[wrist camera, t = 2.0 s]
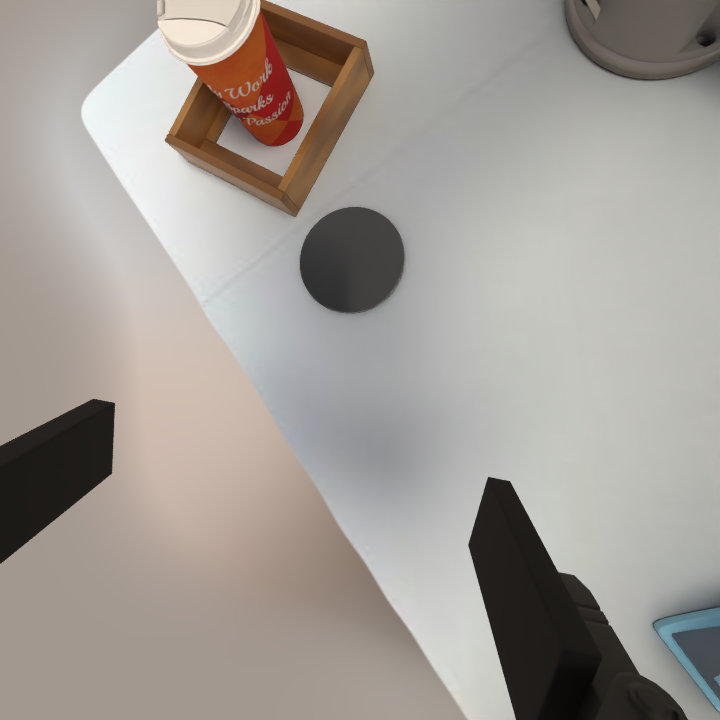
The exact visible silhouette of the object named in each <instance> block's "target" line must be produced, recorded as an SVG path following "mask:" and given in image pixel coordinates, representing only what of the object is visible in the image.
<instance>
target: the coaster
mask: <svg viewBox="0 0 720 720" xmlns="http://www.w3.org/2000/svg"><path fill="white" fill-rule="evenodd" d="M404 262H405V254H404V247H403V243H402V240H401V237H400V235H399V233H398V231H397V230H396V228H395V227H394V225H393V224H392V223H391V222H390V221H389V220H388V219H387V218H386V217H384V216H383V215H381V214H380V213H378V212H376V211H373V210H371V209H367V208H361V207H349V208H343V209H340V210H337V211H334V212H332V213H330V214H328V215H327V216H325V217H324V218H322V219H321V220H320V221H319V222H318V223H317V224H316V225H315V226H314V227H313V228H312V229H311V231H310V232H309V234H308V235H307V237H306V239H305V241H304V244H303V247H302V250H301V255H300V271H301V276H302V279H303V282H304V284H305V286H306V288H307V290H308V291H309V293H310V294H311V295H312V297H313V298H314V299H315V300H316V301H318V302H319V303H320V304H322V305H323V306H325V307H326V308H328V309H331V310H333V311H336V312H341V313H360V312H364V311H367V310H370V309H372V308H374V307H376V306H378V305H379V304H381V303H382V302H383V301H385V300H386V299H387V298H388V297H389V296H390V295H391V294H392V292H393V291H394V290H395V288H396V287H397V285H398V283H399V281H400V279H401V276H402V273H403V269H404Z"/></svg>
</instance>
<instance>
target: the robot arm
mask: <svg viewBox="0 0 720 720" xmlns="http://www.w3.org/2000/svg"><path fill="white" fill-rule="evenodd" d="M566 16H567V21H568V25H569V28H570V31H571V33H572V35H573V37H574V39H575V41H576V43H577V44H578V45H579V47H580V48H581V49H582V50H583V52H584V53H585V54H586V55H587V56H588V57H590V58H591V59H592V60H593V61H594V62H596V63H597V64H599V65H600V66H602V67H604V68H606V69H607V70H610V71H612V72H614V73H617V74H620V75H624V76H628V77H632V78H640V79H664V78H671V77H677V76H681V75H685V74H688V73H691V72H694V71H697V70H699V69H702V68H704V67H706V66H708V65H710V64H712V63H714V62H715V61H717V60H719V59H720V0H566ZM114 413H115V403H112V402H107V401H102V400H97V399H92V400H90V401H88V402H86V403H85V404H82V405H80V406H78V407H76V408H74V409H72V410H70V411H68V412H67V413H64V414H63V415H61V416H59V417H57V418H55V419H53V420H51V421H49V422H47V423H45V424H43V425H41V426H39V427H37V428H35V429H33V430H31V431H29V432H27V433H25V434H23V435H21V436H19V437H17V438H15V439H13V440H11V441H9V442H7V443H5V444H3V445H1V446H0V563H2V562H3V561H5V560H6V559H7V558H8V557H9V556H11V555H12V554H13V553H14V552H16V551H17V550H18V549H19V548H21V547H22V546H23V545H24V544H25V543H27V542H28V541H29V540H30V539H32V538H33V537H34V536H35V535H36V534H38V533H39V532H40V531H42V530H43V529H44V528H45V527H46V526H48V525H49V524H50V523H51V522H53V521H54V520H55V519H56V518H58V517H59V516H60V515H61V514H63V513H64V512H65V511H66V510H67V509H69V508H70V507H71V506H72V505H74V504H75V503H76V502H77V501H79V500H80V499H81V498H82V497H83V496H85V495H86V494H87V493H88V492H90V491H91V490H92V489H93V488H95V487H96V486H97V485H98V484H99V483H101V482H102V481H103V480H104V479H106V478H107V477H108V476H109V475H111V474H112V459H113V437H114ZM468 545H469V549H470V553H471V556H472V560H473V564H474V567H475V571H476V575H477V578H478V582H479V586H480V589H481V593H482V597H483V600H484V604H485V608H486V611H487V615H488V619H489V622H490V626H491V630H492V633H493V637H494V641H495V644H496V648H497V652H498V655H499V659H500V663H501V666H502V670H503V674H504V677H505V681H506V685H507V688H508V692H509V696H510V699H511V703H512V707H513V710H514V714H515V718H516V720H688V719H687V717H686V716H685V714H684V712H683V710H682V708H681V707H680V706H679V705H678V704H677V702H676V701H675V700H674V699H673V698H672V697H671V696H670V695H669V694H668V693H667V692H666V691H664V690H663V689H662V688H661V687H660V686H658V685H657V684H656V683H654V682H652V681H650V680H649V679H647V678H645V677H643V676H641V675H640V674H639V672H638V671H637V669H636V667H635V666H634V664H633V662H632V661H631V659H630V657H629V656H628V654H627V652H626V651H625V649H624V647H623V645H622V644H621V642H620V640H619V639H618V637H617V635H616V634H615V632H614V630H613V629H612V627H611V626H610V625H609V624H608V623H609V622H608V620H607V619H606V617H605V615H604V613H603V612H602V611H600V607H599V605H598V603H597V602H596V600H595V598H594V597H593V595H592V593H591V592H590V590H589V589H588V588H587V587H586V586H584V585H583V584H582V583H581V582H580V581H579V580H578V579H577V578H576V577H575V576H574V575H570V574H565V573H560V572H558V571H557V569H556V567H555V565H554V564H553V562H552V560H551V558H550V556H549V554H548V552H547V550H546V548H545V546H544V545H543V543H542V541H541V539H540V537H539V535H538V533H537V531H536V529H535V528H534V526H533V524H532V522H531V520H530V518H529V516H528V514H527V512H526V511H525V509H524V507H523V505H522V503H521V501H520V499H519V497H518V495H517V493H516V492H515V490H514V488H513V486H512V484H511V482H510V481H506V480H501V479H496V478H491V477H488V479H487V482H486V486H485V489H484V493H483V496H482V500H481V503H480V506H479V510H478V513H477V517H476V520H475V524H474V527H473V531H472V534H471V537H470V541H469V544H468Z"/></svg>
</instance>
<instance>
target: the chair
mask: <svg viewBox="0 0 720 720" xmlns="http://www.w3.org/2000/svg"><path fill="white" fill-rule="evenodd" d="M717 626H720V607H717V608H712V609H707V610H702V611H696V612H691V613H686V614H681V615H676V616H672V617H668V618H664V619H661V620H659V621H656V622H655V623H654V628H655V630H656V631H657V632H658V634H659V635H660V637H661V638H662V639H663V640H664V642H665V643H666V644H667V646H668V647H669V648H670V650H671V651H672V652H673V653H674V655H675V656H676V657H677V659H678V660H679V661H680V662H681V664H682V665H683V666H684V668H685V669H686V670H687V672H688V673H689V674H690V675H691V677H692V678H693V679H694V681H695V682H696V683H697V684H698V686H699V687H700V688H701V690H702V691H703V692H704V694H705V695H706V696H707V697H708V699H709V700H710V701H711V703H712V704H713V705H714V706H715V708H716V709H717V710H718V712H719V713H720V700H719V698H718V697H717V696H716V694H715V693H714V692H713V690H712V689H711V688H710V686H709V685H708V684H707V682H706V681H705V680H704V678H703V677H702V676H701V674H700V673H699V672H698V670H697V669H696V668H695V666H694V665H693V664H692V662H691V661H690V660H689V658H688V657H687V656H686V654H685V653H684V652H683V650H682V649H681V648H680V646H679V645H678V644H677V643H676V641H675V640H674V639H673V637H672V634H673V633H676V632H681V631H688V630H695V629H702V628H710V627H717ZM714 679H715V681H716V682H717V683H718V684H719V686H720V675H718V676H717V677H715V678H714Z"/></svg>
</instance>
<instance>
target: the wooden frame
mask: <svg viewBox="0 0 720 720" xmlns="http://www.w3.org/2000/svg"><path fill="white" fill-rule="evenodd" d="M260 9H261V11H262V13H263V16H264V18H265V20H266V23H267V25H268V27H269V30H270V32H271V34H272V37H273V39H274V41H275V44H276V46H277V48H278V50H279V53H280V55H281V57H282V60H283V62H284V64H285V66H286V67H288V68H290V69H293V70H295V71H297V72H299V73H302V74H304V75H306V76H309V77H311V78H313V79H316V80H318V81H320V82H322V83H325V84H327V85H329V86H332V89H331V91H330V92H329V94H328V96H327V98H326V100H325V102H324V103H323V105H322V107H321V109H320V111H319V113H318V115H317V116H316V118H315V120H314V122H313V124H312V126H311V127H310V129H309V131H308V133H307V135H306V137H305V139H304V140H303V142H302V144H301V146H300V148H299V150H298V151H297V153H296V155H295V157H294V159H293V161H292V163H291V164H290V166H289V168H288V170H287V172H286V174H285V175H284V177H282V176H280V175H278V174H276V173H274V172H272V171H270V170H268V169H266V168H264V167H262V166H260V165H258V164H256V163H254V162H252V161H250V160H248V159H246V158H244V157H242V156H240V155H238V154H236V153H234V152H232V151H230V150H228V149H226V148H224V147H222V146H220V145H218V144H216V141H217V139H218V137H219V136H220V134H221V132H222V130H223V128H224V126H225V124H226V122H227V121H228V119H229V117H230V115H231V113H232V112H231V111H230V110H229V109H228V108H227V107H226V106H225V105H224V104H223V103H222V102H221V100H220V99H219V98H218V97H217V96H216V95H215V94H214V93H213V92H212V91H211V90H210V89H209V87H208V86H207V85H206V84H205V83H204V82H203V81H202V80H201V79H200V78H199V77H198V78H197V80H196V82H195V84H194V86H193V87H192V89H191V91H190V93H189V95H188V97H187V99H186V101H185V103H184V105H183V107H182V108H181V110H180V112H179V114H178V116H177V118H176V120H175V122H174V124H173V126H172V128H171V129H170V131H169V134H168V135H167V137H166V139H165V142H167V143H168V144H169V145H170V146H171V147H172V148H174V149H175V150H176V151H177V152H178V153H179V154H181V155H182V156H183V157H184V158H185V159H186V160H188V161H189V162H190V163H192V164H194V165H196V166H198V167H200V168H202V169H204V170H206V171H208V172H210V173H212V174H214V175H215V176H217V177H219V178H221V179H223V180H225V181H227V182H229V183H231V184H233V185H235V186H237V187H239V188H241V189H242V190H244V191H246V192H248V193H250V194H252V195H254V196H256V197H258V198H260V199H262V200H264V201H266V202H267V203H269V204H271V205H273V206H275V207H277V208H279V209H281V210H283V211H285V212H287V213H289V214H291V215H293V216H294V217H296V215H297V213H298V211H299V210H300V208H301V206H302V204H303V203H304V201H305V199H306V197H307V195H308V193H309V192H310V190H311V188H312V186H313V184H314V182H315V181H316V179H317V177H318V175H319V173H320V171H321V170H322V168H323V166H324V164H325V162H326V160H327V159H328V157H329V155H330V153H331V151H332V149H333V148H334V146H335V144H336V142H337V140H338V138H339V137H340V135H341V133H342V131H343V129H344V127H345V126H346V124H347V122H348V120H349V118H350V116H351V115H352V113H353V111H354V109H355V107H356V105H357V104H358V102H359V100H360V98H361V96H362V94H363V93H364V91H365V89H366V87H367V85H368V84H369V82H370V79H371V78H372V76H373V74H374V70H373V66H372V62H371V58H370V54H369V50H368V46H367V42H366V41H365V40H363V39H360V38H358V37H355V36H353V35H350V34H348V33H345V32H343V31H340V30H338V29H335V28H333V27H330V26H328V25H325V24H323V23H320V22H318V21H315V20H313V19H310V18H308V17H305V16H303V15H300V14H298V13H295V12H293V11H290V10H288V9H285V8H283V7H281V6H278V5H276V4H273V3H271V2H268V1H266V0H260Z"/></svg>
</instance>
